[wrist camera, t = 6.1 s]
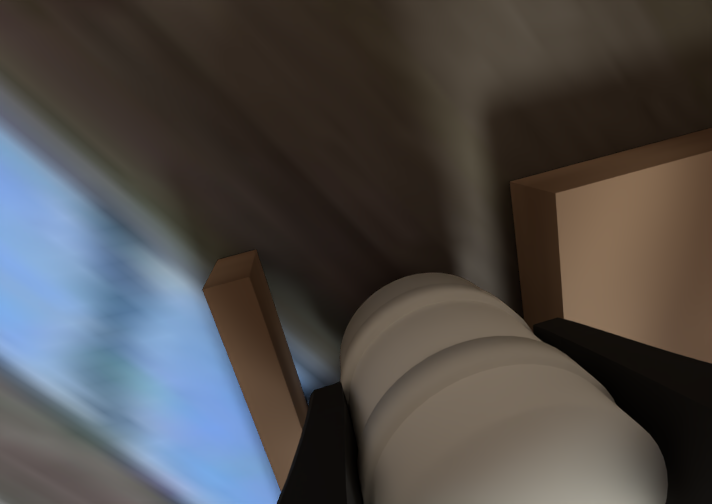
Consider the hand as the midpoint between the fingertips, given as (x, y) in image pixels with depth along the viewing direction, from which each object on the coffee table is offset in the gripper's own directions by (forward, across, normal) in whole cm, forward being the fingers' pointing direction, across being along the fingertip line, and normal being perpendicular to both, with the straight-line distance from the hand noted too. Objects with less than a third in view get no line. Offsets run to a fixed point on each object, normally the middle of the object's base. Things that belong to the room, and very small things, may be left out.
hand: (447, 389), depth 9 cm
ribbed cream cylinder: (+2, 0, 0) cm, 2 cm away
